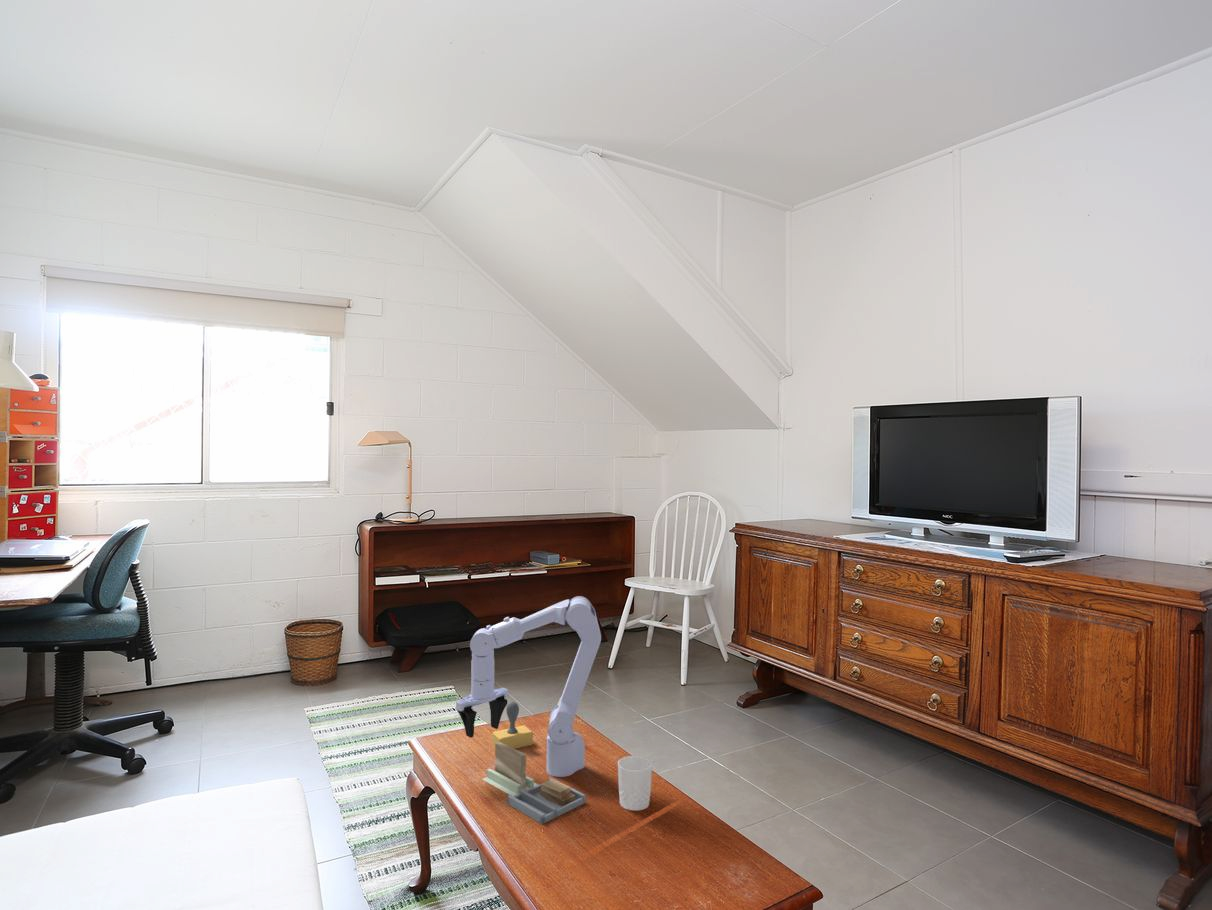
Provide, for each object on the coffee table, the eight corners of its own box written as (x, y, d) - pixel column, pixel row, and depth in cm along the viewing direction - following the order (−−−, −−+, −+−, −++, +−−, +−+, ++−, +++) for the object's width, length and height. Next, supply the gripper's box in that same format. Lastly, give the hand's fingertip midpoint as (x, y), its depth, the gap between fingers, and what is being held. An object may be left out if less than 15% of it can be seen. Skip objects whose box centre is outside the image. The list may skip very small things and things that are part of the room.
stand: (507, 771, 180) (507, 761, 180) (538, 788, 171) (538, 777, 171) (481, 782, 174) (481, 771, 174) (512, 799, 165) (512, 788, 165)
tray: (550, 788, 171) (550, 777, 171) (585, 806, 163) (585, 794, 163) (507, 807, 162) (507, 796, 162) (542, 827, 154) (542, 815, 154)
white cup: (656, 802, 165) (657, 759, 165) (644, 818, 158) (644, 773, 158) (625, 795, 168) (625, 753, 168) (611, 810, 161) (612, 766, 161)
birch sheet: (500, 774, 176) (500, 742, 176) (525, 788, 169) (526, 754, 169) (495, 776, 175) (495, 743, 175) (520, 790, 168) (521, 756, 168)
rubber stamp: (499, 752, 191) (499, 708, 191) (491, 745, 196) (491, 701, 196) (533, 745, 196) (533, 702, 196) (524, 737, 201) (525, 695, 201)
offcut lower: (552, 789, 169) (552, 783, 169) (575, 801, 163) (575, 795, 163) (540, 794, 166) (540, 788, 166) (563, 807, 161) (563, 801, 161)
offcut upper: (550, 785, 168) (551, 779, 168) (570, 792, 164) (570, 786, 164) (541, 790, 166) (541, 784, 166) (560, 798, 162) (560, 792, 162)
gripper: (496, 668, 186) (496, 719, 187) (449, 680, 176) (448, 735, 176) (513, 674, 182) (512, 727, 182) (465, 687, 171) (465, 743, 171)
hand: (482, 731), depth 179 cm, fingers open, 7 cm apart
